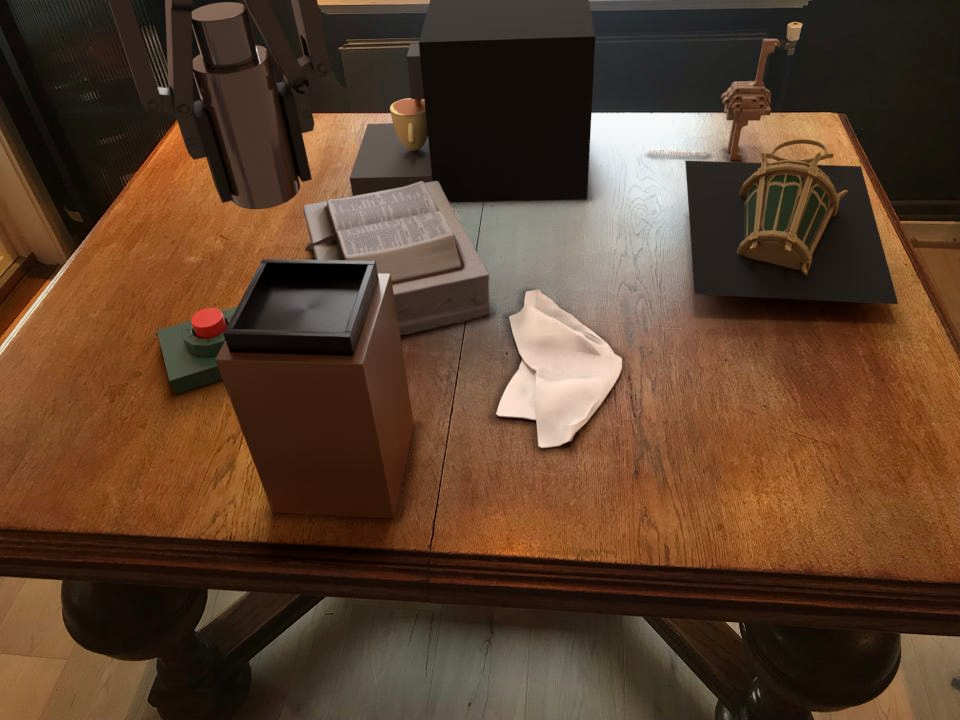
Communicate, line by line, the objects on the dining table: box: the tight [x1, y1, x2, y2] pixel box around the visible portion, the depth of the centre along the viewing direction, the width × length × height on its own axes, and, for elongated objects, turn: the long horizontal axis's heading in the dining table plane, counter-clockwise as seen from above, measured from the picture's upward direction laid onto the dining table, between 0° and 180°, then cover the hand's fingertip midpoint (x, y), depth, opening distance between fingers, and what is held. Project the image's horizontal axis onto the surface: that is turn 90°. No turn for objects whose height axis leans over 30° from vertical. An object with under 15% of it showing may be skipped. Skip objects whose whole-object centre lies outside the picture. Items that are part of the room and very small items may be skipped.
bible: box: [302, 181, 491, 336], centre depth 99 cm, size 23×27×10 cm
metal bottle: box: [192, 1, 301, 210], centre depth 54 cm, size 5×5×13 cm
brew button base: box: [156, 305, 238, 395], centre depth 91 cm, size 12×10×4 cm
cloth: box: [495, 288, 623, 449], centre depth 88 cm, size 26×14×2 cm, turn 172°
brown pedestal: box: [215, 258, 415, 520], centre depth 71 cm, size 12×12×22 cm
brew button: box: [190, 307, 226, 339], centre depth 90 cm, size 4×4×2 cm
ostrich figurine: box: [649, 38, 781, 161], centre depth 117 cm, size 17×7×18 cm, turn 84°
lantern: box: [684, 138, 899, 305], centre depth 99 cm, size 14×23×30 cm
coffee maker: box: [349, 0, 596, 203], centre depth 114 cm, size 18×35×24 cm, turn 88°
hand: (263, 182), depth 58 cm, fingers closed on metal bottle, 5 cm apart
